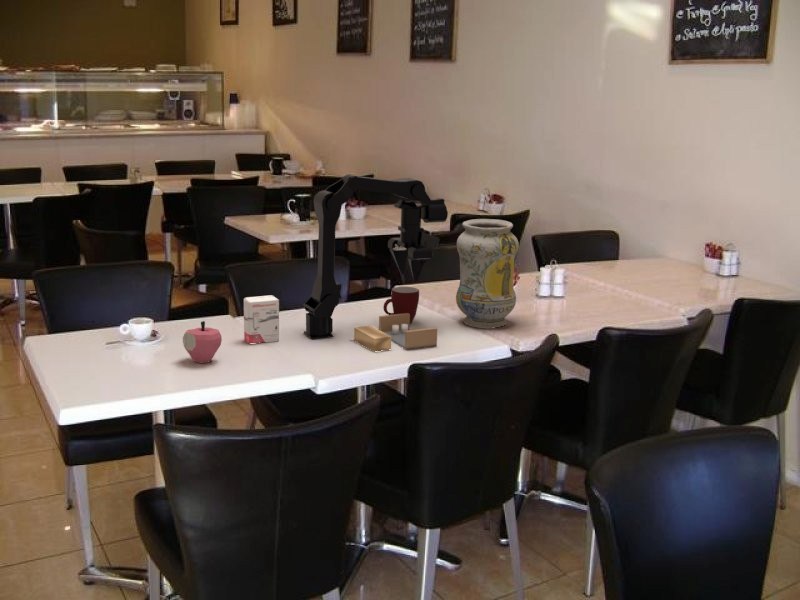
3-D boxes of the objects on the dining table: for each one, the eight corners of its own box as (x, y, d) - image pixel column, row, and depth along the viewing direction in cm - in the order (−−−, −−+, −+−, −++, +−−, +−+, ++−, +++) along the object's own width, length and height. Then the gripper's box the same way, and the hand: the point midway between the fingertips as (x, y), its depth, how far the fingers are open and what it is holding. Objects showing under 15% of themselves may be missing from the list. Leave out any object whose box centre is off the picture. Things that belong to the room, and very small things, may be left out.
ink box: (249, 345, 239) (248, 301, 236) (243, 340, 243) (242, 297, 240) (280, 341, 243) (279, 298, 240) (273, 336, 247) (273, 294, 244)
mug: (390, 328, 258) (391, 294, 255) (378, 321, 265) (379, 288, 262) (423, 324, 262) (424, 291, 260) (410, 318, 269) (411, 285, 267)
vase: (483, 335, 253) (488, 229, 246) (441, 321, 267) (444, 220, 259) (527, 325, 265) (533, 224, 257) (484, 312, 278) (488, 216, 271)
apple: (177, 360, 225) (176, 321, 222) (207, 353, 230) (206, 316, 228) (198, 369, 218) (197, 330, 216) (228, 362, 224) (227, 323, 221)
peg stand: (406, 350, 237) (407, 332, 236) (378, 333, 252) (379, 316, 251) (436, 346, 241) (437, 328, 240) (407, 330, 256) (407, 313, 255)
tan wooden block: (374, 353, 235) (374, 338, 234) (353, 341, 245) (354, 327, 244) (391, 351, 237) (391, 336, 236) (370, 339, 248) (370, 325, 247)
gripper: (451, 227, 248) (448, 282, 252) (422, 217, 265) (420, 269, 269) (414, 229, 244) (412, 285, 248) (387, 219, 260) (386, 271, 264)
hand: (409, 277), depth 257 cm, fingers open, 9 cm apart
